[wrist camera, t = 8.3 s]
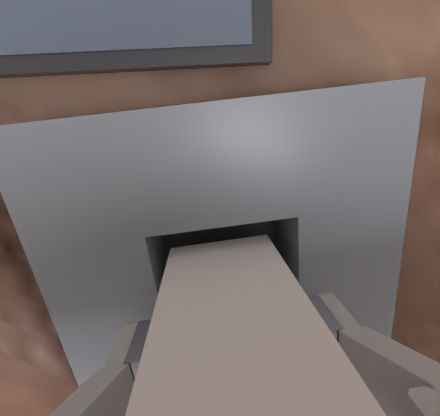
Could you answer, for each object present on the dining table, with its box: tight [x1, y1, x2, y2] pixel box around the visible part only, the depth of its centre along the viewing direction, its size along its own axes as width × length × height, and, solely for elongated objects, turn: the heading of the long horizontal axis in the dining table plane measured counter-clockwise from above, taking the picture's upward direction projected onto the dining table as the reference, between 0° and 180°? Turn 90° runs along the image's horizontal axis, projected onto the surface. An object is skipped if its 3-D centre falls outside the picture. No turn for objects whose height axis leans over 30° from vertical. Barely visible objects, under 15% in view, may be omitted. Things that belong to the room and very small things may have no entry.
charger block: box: [125, 235, 386, 416], centre depth 7 cm, size 4×4×8 cm
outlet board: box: [0, 77, 426, 387], centre depth 12 cm, size 14×20×3 cm
